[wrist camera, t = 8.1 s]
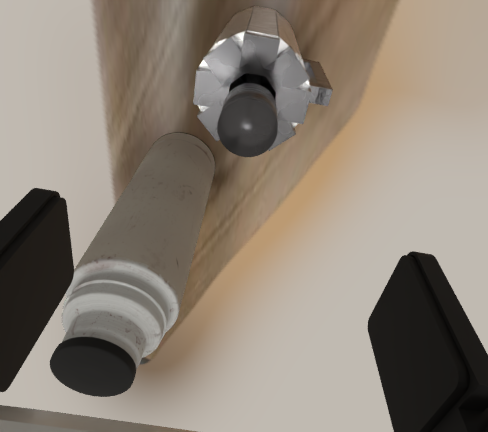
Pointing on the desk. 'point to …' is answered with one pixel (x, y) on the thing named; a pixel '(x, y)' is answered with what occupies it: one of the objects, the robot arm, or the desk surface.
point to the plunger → (248, 118)
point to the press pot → (260, 70)
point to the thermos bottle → (135, 269)
